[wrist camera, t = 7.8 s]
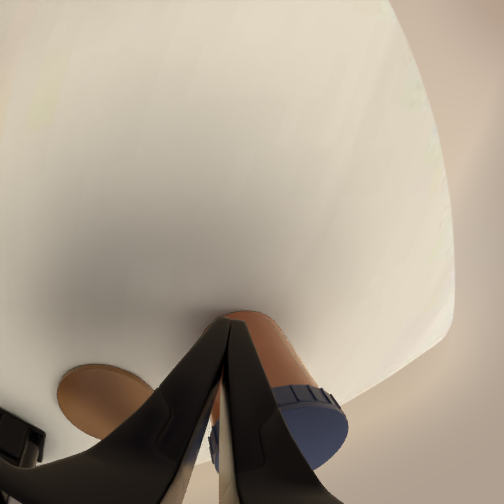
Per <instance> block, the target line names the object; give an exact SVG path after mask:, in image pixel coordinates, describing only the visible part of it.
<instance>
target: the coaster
mask: <svg viewBox="0 0 504 504" xmlns="http://www.w3.org/2000/svg"><path fill="white" fill-rule="evenodd" d="M153 392H154V391H153V390H152V388H151V387H150V386H149V385H148V384H146V383H145V382H144V381H143V380H141V379H140V378H138V377H137V376H135V375H133V374H131V373H129V372H127V371H125V370H122V369H119V368H116V367H112V366H107V365H98V364H92V365H83V366H79V367H76V368H74V369H72V370H70V371H69V372H67V373H66V374H65V375H64V376H63V378H62V379H61V381H60V383H59V386H58V390H57V399H58V403H59V406H60V408H61V410H62V412H63V414H64V415H65V416H66V418H67V419H68V420H69V421H70V422H71V423H72V424H73V425H74V426H76V427H77V428H78V429H80V430H81V431H83V432H84V433H86V434H88V435H90V436H92V437H95V438H98V439H101V440H102V439H103V438H105V437H106V436H107V435H108V434H109V433H111V432H112V431H113V430H114V429H115V428H117V427H118V426H119V425H120V424H121V423H123V422H124V421H125V420H126V419H127V418H128V417H129V416H131V415H132V414H133V413H134V412H135V411H136V410H137V409H138V408H139V407H140V406H141V405H142V404H143V403H144V402H145V401H146V400H147V399H148V398H149V397H150V396H151V394H152V393H153Z"/></svg>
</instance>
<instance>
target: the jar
mask: <svg viewBox="0 0 504 504" xmlns="http://www.w3.org/2000/svg"><path fill="white" fill-rule="evenodd" d="M223 317H227V318H230V319H231V321H232V319H239V320H244V321H245V322H246V324H247V327H248V330H249V332H250V335H251V337H252V340H253V343H254V345H255V348H256V350H257V353H258V355H259V358H260V361H261V363H262V366H263V368H264V371H265V373H266V376H267V378H268V381H269V383H270V386H271V388H272V387H273V388H274V387H279V386H286V385H290V384H292V385H307V384H309V385H310V386H314V387H317V388H319V387H318V385H317V384H316V382H315V381H314V379H313V378H312V376H311V375H310V373H309V372H308V370H307V369H306V367H305V366H304V364H303V363H302V361H301V360H300V358H299V356H298V355H297V353H296V352H295V350H294V349H293V347H292V346H291V344H290V343H289V341H288V340H287V338H286V337H285V335H284V333H283V332H282V330H281V329H280V327H279V326H278V325H277V323H276V322H275V321H274V320H273V319H271V318H270V317H268V316H266V315H265V314H262V313H259V312H254V311H239V312H234V313H230V314H227V315H225V316H223ZM230 326H231V325H230ZM209 327H210V326H209ZM209 327H208V328H209ZM208 328H207V329H208ZM207 329H206V330H207ZM206 330H205V331H206ZM203 334H204V333H203ZM203 334H202V335H203ZM222 372H223V371H222ZM221 378H222V377H221ZM220 389H221V382H220V386H219V389H218V392H217V396H216V399H215V402H214V405H213V408H212V411H211V415H210V421H211V426H214V424H215V423H216V421H217V420H218V419H219V418H220Z"/></svg>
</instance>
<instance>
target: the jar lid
mask: <svg viewBox="0 0 504 504" xmlns="http://www.w3.org/2000/svg"><path fill="white" fill-rule="evenodd" d="M272 391H273V393H274V396H275V398H276V401H277V403H278V405H279V408H280V410H281V412H282V415H283V417H284V420H285V422H286V424H287V426H288V428H289V430H290V433H291V434H292V436H293V438H294V440H295V442H296V444H297V445H298V447H299V449H300V450H301V452H302V454H303V455H304V457H305V459H306V460H307V462H308V463H309V465H310V467H311V468H312V470H315V469H317V468H318V467H320V466H321V465H322V464H324V463H325V462H326V461H328V460H329V459H330V458H331V457H332V456H333V455H334V454H335V453H336V452H337V451H338V450H339V448H340V447H341V445H342V444H343V443H344V441H345V439H346V437H347V433H348V421H347V419H346V416H345V414H344V413H343V411H342V410H341V407H340V406H339V404H338V403H337V401H336V400H335V399H334V397H333V396H332V394H330V395H329V394H328V393H327V392H326V391H324V390H323V388H317V387H314V386H310V385H309V384H307V385H292V384H290V385H286V386H279V387H274V388H273V387H272ZM219 432H220V418H219V419H218V420H217V421H216V423H215V424H214V426H212V431H211V434H210V437H208V440H209V445H210V447H209V448H210V453H211V458H212V462H213V464H214V465H215V468H216V470H217V472H218V474H219Z"/></svg>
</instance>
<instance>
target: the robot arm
mask: <svg viewBox="0 0 504 504" xmlns="http://www.w3.org/2000/svg"><path fill="white" fill-rule="evenodd" d="M230 325H231V326H230ZM222 371H223V372H222ZM221 377H222V378H221ZM220 382H221V389H220V432H219V504H344V503H342V502H341V501H340V500H338V499H337V498H336V497H334V496H333V495H332V494H331V493H330V492H328V491H327V489H326V488H325V487H324V486H323V485H322V484H321V482H320V481H319V479H318V478H317V476H316V475H315V473H314V472H313V470H312V468H311V467H310V465H309V463H308V462H307V460H306V459H305V457H304V455H303V454H302V452H301V450H300V449H299V447H298V445H297V444H296V442H295V440H294V438H293V436H292V434H291V433H290V430H289V428H288V426H287V424H286V422H285V420H284V417H283V415H282V412H281V410H280V408H279V405H278V403H277V401H276V398H275V396H274V393H273V391H272V388H271V386H270V383H269V381H268V378H267V376H266V373H265V371H264V368H263V366H262V363H261V361H260V358H259V355H258V353H257V350H256V348H255V345H254V343H253V340H252V337H251V335H250V332H249V330H248V327H247V324H246V322H245V321H244V320H239V319H232V321H231V319H230V318H227V317H222V316H219V317H217V318H216V319H215V321H214V322H213V323H212V324H211V325H210V327H209V328H208V329H207V330H206V331H205V332H204V334H203V335H202V336H201V337H200V338H199V340H198V341H197V342H196V343H195V344H194V345H193V347H192V348H191V349H190V350H189V351H188V353H187V354H186V355H185V356H184V357H183V358H182V360H181V361H180V362H179V363H178V364H177V365H176V367H175V368H174V369H173V370H172V371H171V372H170V374H169V375H168V376H167V377H166V378H165V379H164V381H163V382H162V383H161V384H160V385H159V387H158V388H157V389H156V390H155V391H154V392H153V393H152V394H151V396H150V397H149V398H148V399H147V400H146V401H145V402H144V403H143V404H142V405H141V406H140V407H139V408H138V409H137V410H136V411H135V412H134V413H133V414H132V415H131V416H129V417H128V418H127V419H126V420H125V421H124V422H123V423H121V424H120V425H119V426H118V427H117V428H115V429H114V430H113V431H112V432H111V433H109V434H108V435H107V436H106V437H105V438H103V439H102V440H101V441H100V442H98V443H97V444H96V445H94V446H93V447H91V448H90V449H88V450H86V451H84V452H81V453H79V454H76V455H73V456H70V457H67V458H64V459H60V460H57V461H54V462H50V463H47V464H44V465H40V466H36V462H40V463H41V462H42V459H43V451H44V444H45V438H46V434H45V433H44V432H42V431H40V430H38V429H36V428H34V427H32V426H30V425H28V424H26V423H24V422H22V421H21V420H19V419H17V418H15V417H13V416H11V415H10V414H8V413H6V412H4V411H3V410H1V409H0V504H182V502H183V499H184V495H185V493H186V489H187V486H188V483H189V480H190V477H191V474H192V471H193V468H194V465H195V462H196V458H197V455H198V452H199V449H200V446H201V443H202V440H203V437H204V433H205V430H206V427H207V424H208V421H209V418H210V415H211V411H212V408H213V405H214V402H215V399H216V396H217V392H218V389H219V386H220ZM35 466H36V467H35Z"/></svg>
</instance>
